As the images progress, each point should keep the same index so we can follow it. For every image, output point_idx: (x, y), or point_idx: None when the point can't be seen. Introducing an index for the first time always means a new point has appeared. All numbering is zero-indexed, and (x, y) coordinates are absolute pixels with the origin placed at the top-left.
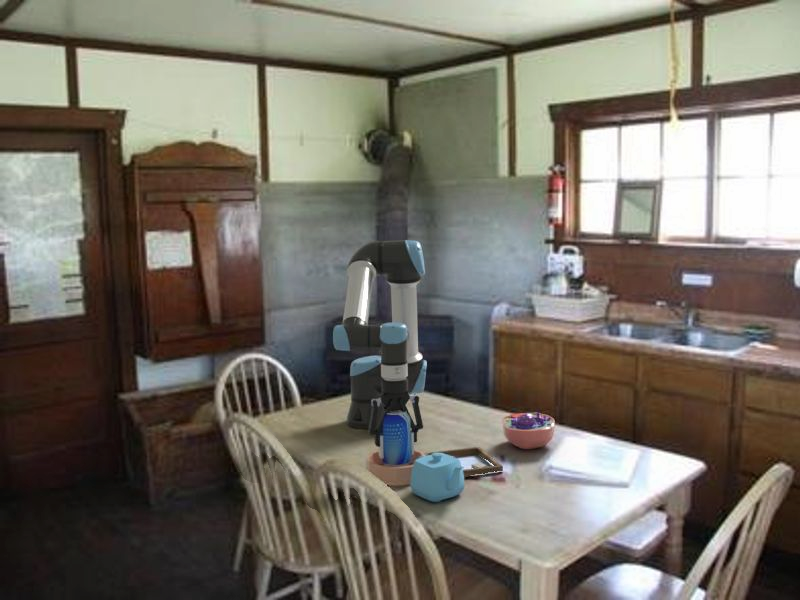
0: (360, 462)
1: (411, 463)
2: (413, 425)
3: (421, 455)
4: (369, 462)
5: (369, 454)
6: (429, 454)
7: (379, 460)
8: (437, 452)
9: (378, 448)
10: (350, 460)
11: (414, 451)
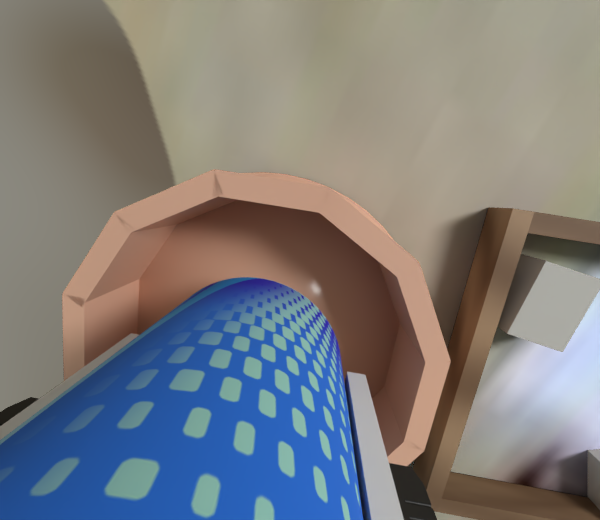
0: (156, 73)
1: (377, 277)
2: None
3: (412, 401)
4: (68, 368)
5: (102, 236)
6: (535, 233)
7: (209, 208)
8: (596, 238)
9: (92, 362)
10: (111, 8)
11: (410, 321)
